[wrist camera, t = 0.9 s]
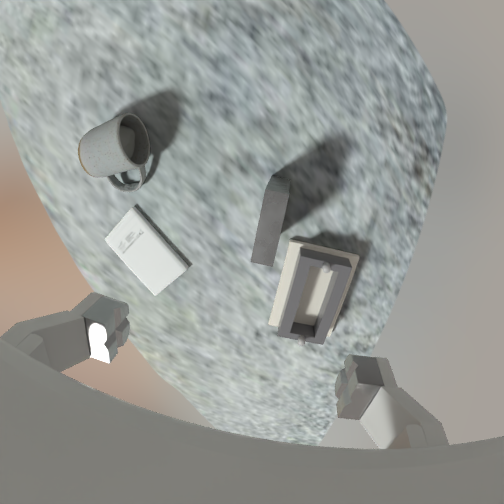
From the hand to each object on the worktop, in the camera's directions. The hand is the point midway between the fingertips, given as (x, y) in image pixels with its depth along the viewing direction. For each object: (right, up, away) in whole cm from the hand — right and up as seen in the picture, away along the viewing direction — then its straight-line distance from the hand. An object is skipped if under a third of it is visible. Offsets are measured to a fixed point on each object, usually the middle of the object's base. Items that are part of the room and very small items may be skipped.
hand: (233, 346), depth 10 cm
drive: (+4, +9, +30) cm, 32 cm away
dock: (+9, -2, +34) cm, 35 cm away
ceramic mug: (-17, +18, +30) cm, 38 cm away
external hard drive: (-16, +4, +36) cm, 39 cm away
